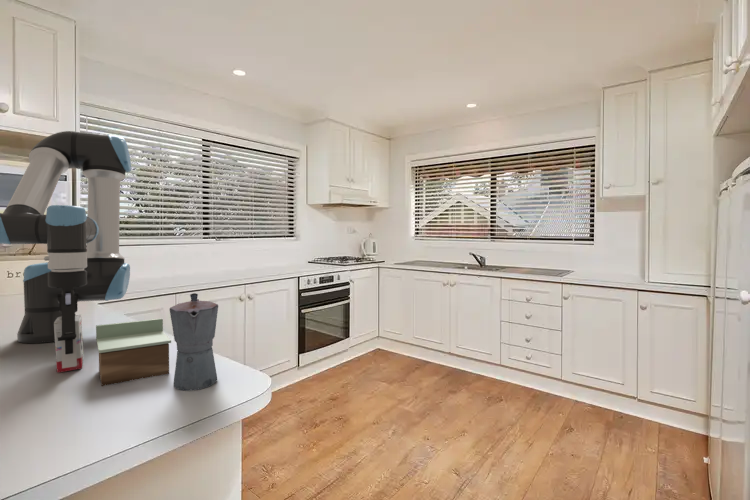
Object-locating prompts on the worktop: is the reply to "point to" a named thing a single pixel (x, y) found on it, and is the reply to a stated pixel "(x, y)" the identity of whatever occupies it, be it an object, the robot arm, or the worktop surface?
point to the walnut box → (133, 364)
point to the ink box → (59, 345)
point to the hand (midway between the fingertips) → (69, 360)
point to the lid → (130, 335)
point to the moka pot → (194, 343)
